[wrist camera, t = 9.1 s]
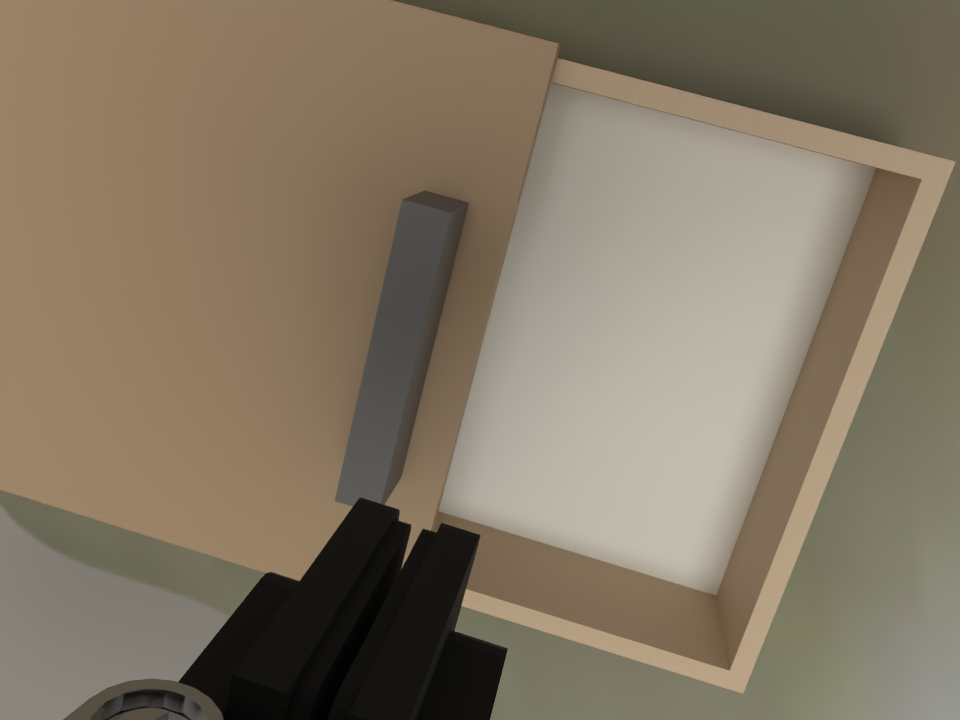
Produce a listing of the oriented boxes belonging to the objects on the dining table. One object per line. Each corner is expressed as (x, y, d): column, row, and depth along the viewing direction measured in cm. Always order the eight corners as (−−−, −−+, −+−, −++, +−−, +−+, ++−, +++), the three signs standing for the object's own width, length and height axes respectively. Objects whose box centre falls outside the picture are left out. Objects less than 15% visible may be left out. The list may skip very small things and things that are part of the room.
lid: (560, 45, 23) (550, 35, 20) (414, 603, 28) (387, 666, 25) (-177, -146, 25) (-295, -184, 22) (-195, 413, 30) (-293, 449, 26)
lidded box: (898, 152, 27) (955, 161, 23) (725, 606, 32) (743, 693, 27) (268, -12, 29) (197, -36, 24) (191, 443, 34) (119, 499, 29)
